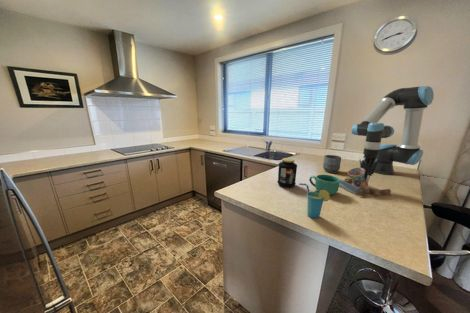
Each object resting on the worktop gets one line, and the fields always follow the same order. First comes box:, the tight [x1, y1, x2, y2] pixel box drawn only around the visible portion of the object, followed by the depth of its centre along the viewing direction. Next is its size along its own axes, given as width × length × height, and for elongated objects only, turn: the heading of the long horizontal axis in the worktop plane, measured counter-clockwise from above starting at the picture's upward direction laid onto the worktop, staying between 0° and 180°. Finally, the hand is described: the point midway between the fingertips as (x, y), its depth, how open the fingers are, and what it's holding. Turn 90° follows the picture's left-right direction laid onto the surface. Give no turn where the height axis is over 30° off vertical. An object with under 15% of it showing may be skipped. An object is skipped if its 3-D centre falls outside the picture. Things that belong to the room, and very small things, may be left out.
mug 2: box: [347, 167, 369, 189], centre depth 114 cm, size 12×9×11 cm
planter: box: [322, 154, 342, 174], centre depth 149 cm, size 12×12×13 cm
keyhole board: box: [338, 177, 392, 199], centre depth 116 cm, size 21×21×4 cm
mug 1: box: [309, 174, 340, 196], centre depth 111 cm, size 17×13×10 cm
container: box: [277, 157, 298, 188], centre depth 120 cm, size 12×12×18 cm
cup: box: [298, 183, 331, 220], centre depth 84 cm, size 14×8×15 cm, turn 54°
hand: (364, 184), depth 117 cm, fingers closed
